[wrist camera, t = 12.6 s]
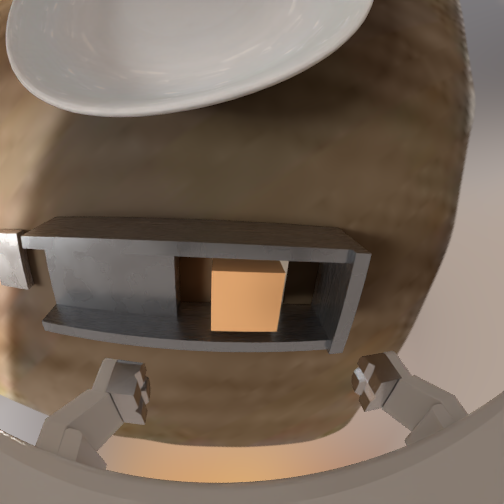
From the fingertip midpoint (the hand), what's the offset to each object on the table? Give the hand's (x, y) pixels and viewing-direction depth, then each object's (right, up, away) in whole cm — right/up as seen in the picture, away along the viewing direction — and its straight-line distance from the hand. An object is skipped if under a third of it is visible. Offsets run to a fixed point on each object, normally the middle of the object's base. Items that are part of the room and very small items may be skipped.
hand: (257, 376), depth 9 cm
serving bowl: (-5, +22, +3) cm, 23 cm away
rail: (-5, +3, +10) cm, 11 cm away
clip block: (-1, +3, +10) cm, 10 cm away
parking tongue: (-21, +4, +8) cm, 23 cm away
